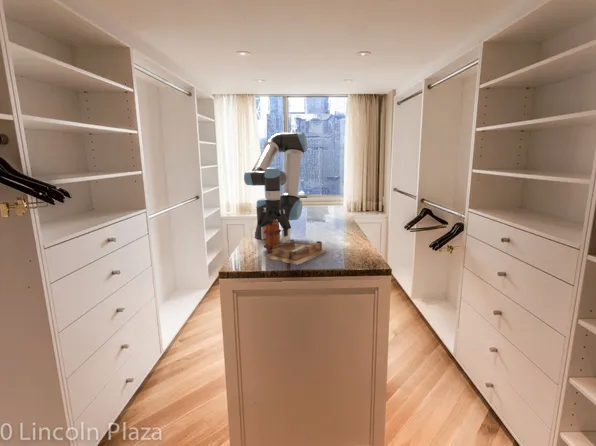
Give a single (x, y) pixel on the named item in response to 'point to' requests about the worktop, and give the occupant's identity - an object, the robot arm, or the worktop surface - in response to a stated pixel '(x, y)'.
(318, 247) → the leg
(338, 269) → the worktop surface
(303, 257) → the seat
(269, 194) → the robot arm
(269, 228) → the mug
